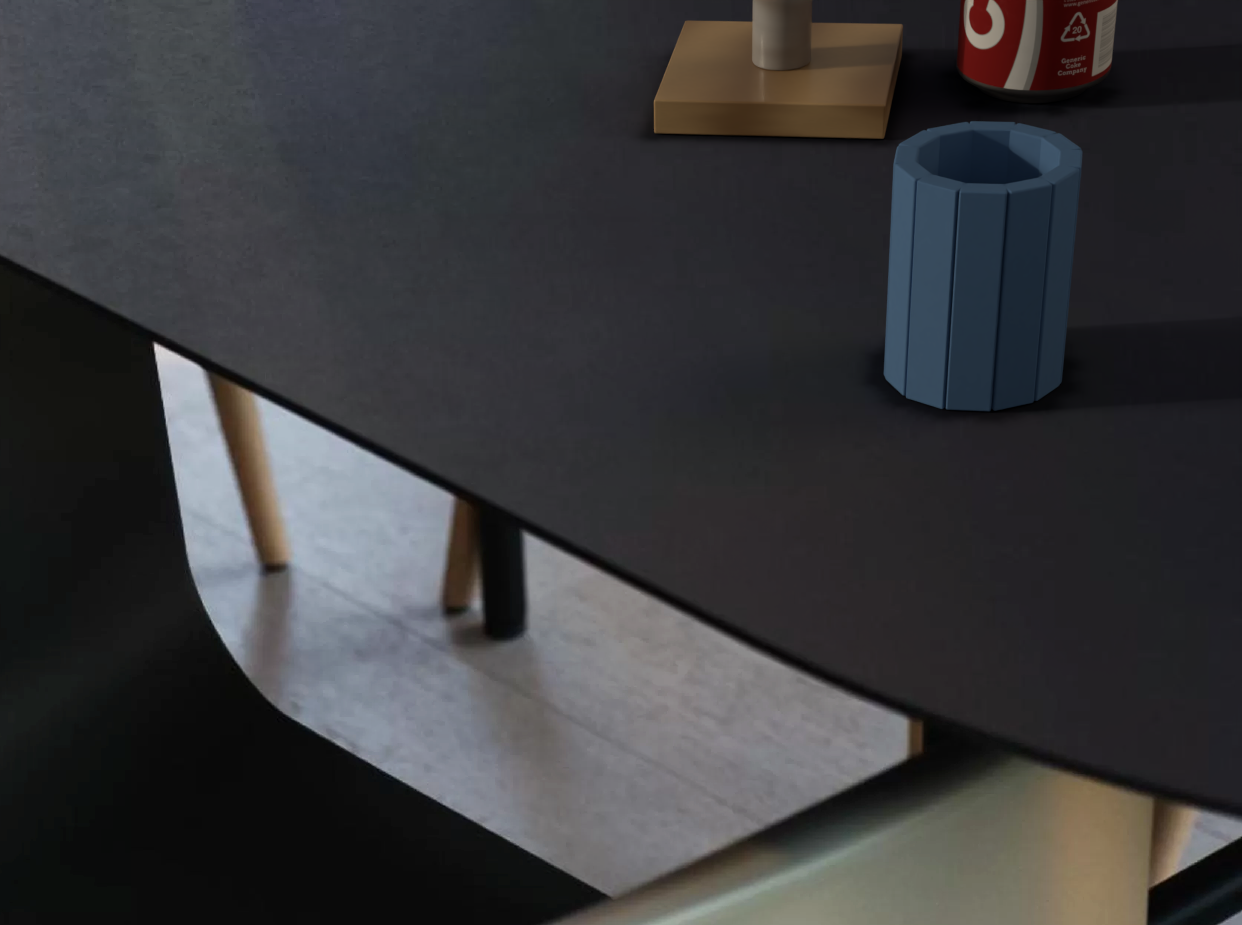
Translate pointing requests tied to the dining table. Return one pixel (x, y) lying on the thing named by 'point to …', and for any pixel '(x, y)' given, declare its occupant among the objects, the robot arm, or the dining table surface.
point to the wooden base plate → (780, 76)
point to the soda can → (1035, 47)
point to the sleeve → (980, 264)
